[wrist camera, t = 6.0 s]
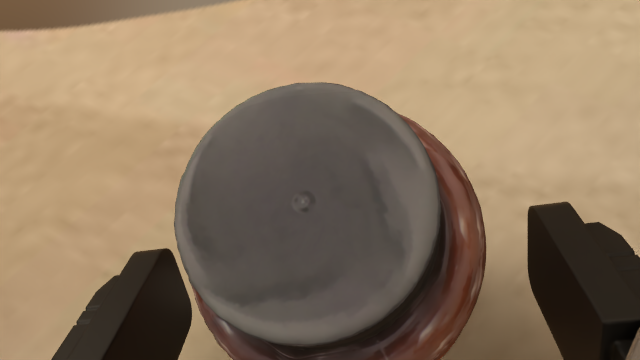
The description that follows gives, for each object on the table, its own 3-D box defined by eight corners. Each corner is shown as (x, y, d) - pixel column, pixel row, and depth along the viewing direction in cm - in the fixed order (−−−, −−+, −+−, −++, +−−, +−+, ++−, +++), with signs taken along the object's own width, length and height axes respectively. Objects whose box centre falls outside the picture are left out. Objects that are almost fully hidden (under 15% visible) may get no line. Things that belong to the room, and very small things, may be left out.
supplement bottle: (384, 169, 19) (352, -47, 9) (493, 305, 17) (627, 240, 7) (251, 266, 19) (49, 165, 8) (347, 415, 17) (243, 530, 6)
